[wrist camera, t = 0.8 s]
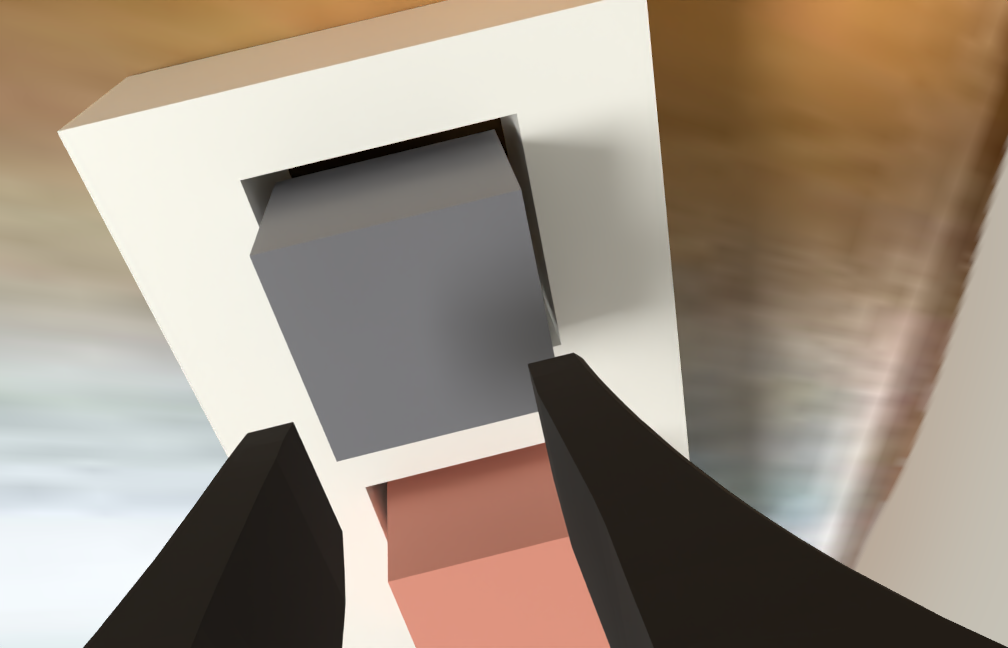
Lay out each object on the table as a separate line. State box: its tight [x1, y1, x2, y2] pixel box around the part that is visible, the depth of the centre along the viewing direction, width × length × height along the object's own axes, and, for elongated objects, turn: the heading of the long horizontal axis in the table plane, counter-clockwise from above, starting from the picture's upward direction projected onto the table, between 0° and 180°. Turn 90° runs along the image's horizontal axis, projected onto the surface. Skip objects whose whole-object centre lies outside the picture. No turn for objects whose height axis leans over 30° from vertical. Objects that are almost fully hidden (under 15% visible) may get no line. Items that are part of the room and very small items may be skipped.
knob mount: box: [57, 0, 690, 648], centre depth 20 cm, size 23×10×4 cm, turn 12°
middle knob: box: [387, 443, 610, 648], centre depth 18 cm, size 4×4×3 cm
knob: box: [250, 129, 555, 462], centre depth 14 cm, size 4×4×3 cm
